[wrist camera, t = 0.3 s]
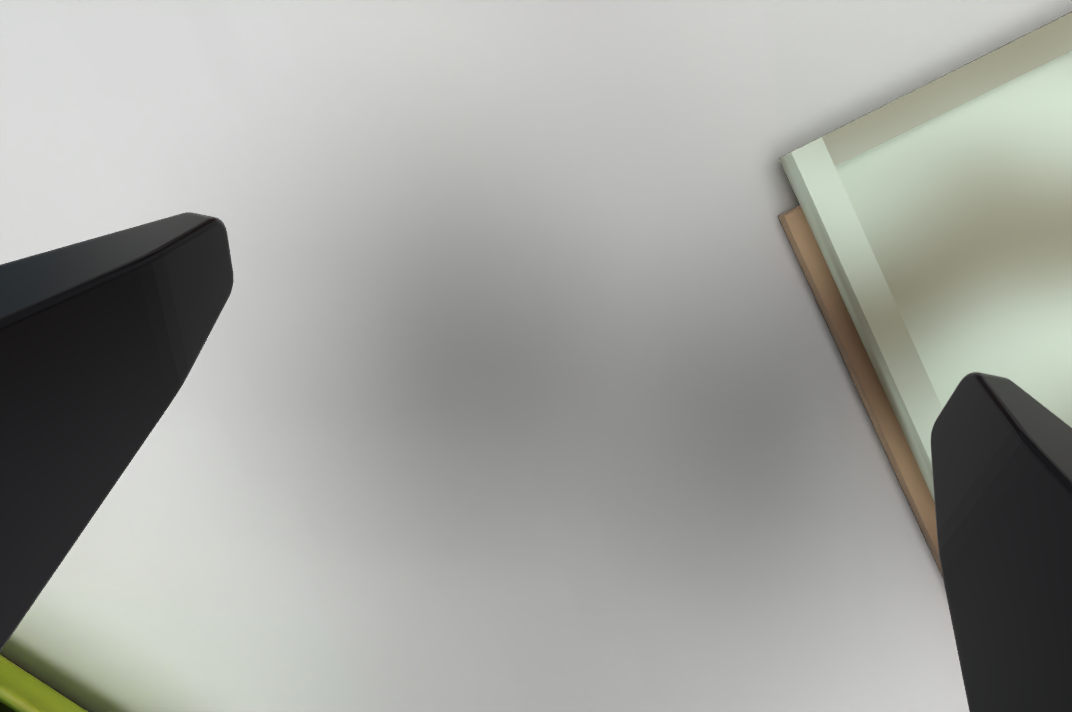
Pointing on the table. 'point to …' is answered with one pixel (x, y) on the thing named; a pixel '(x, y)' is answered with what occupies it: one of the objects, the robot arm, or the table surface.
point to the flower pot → (29, 692)
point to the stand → (946, 244)
